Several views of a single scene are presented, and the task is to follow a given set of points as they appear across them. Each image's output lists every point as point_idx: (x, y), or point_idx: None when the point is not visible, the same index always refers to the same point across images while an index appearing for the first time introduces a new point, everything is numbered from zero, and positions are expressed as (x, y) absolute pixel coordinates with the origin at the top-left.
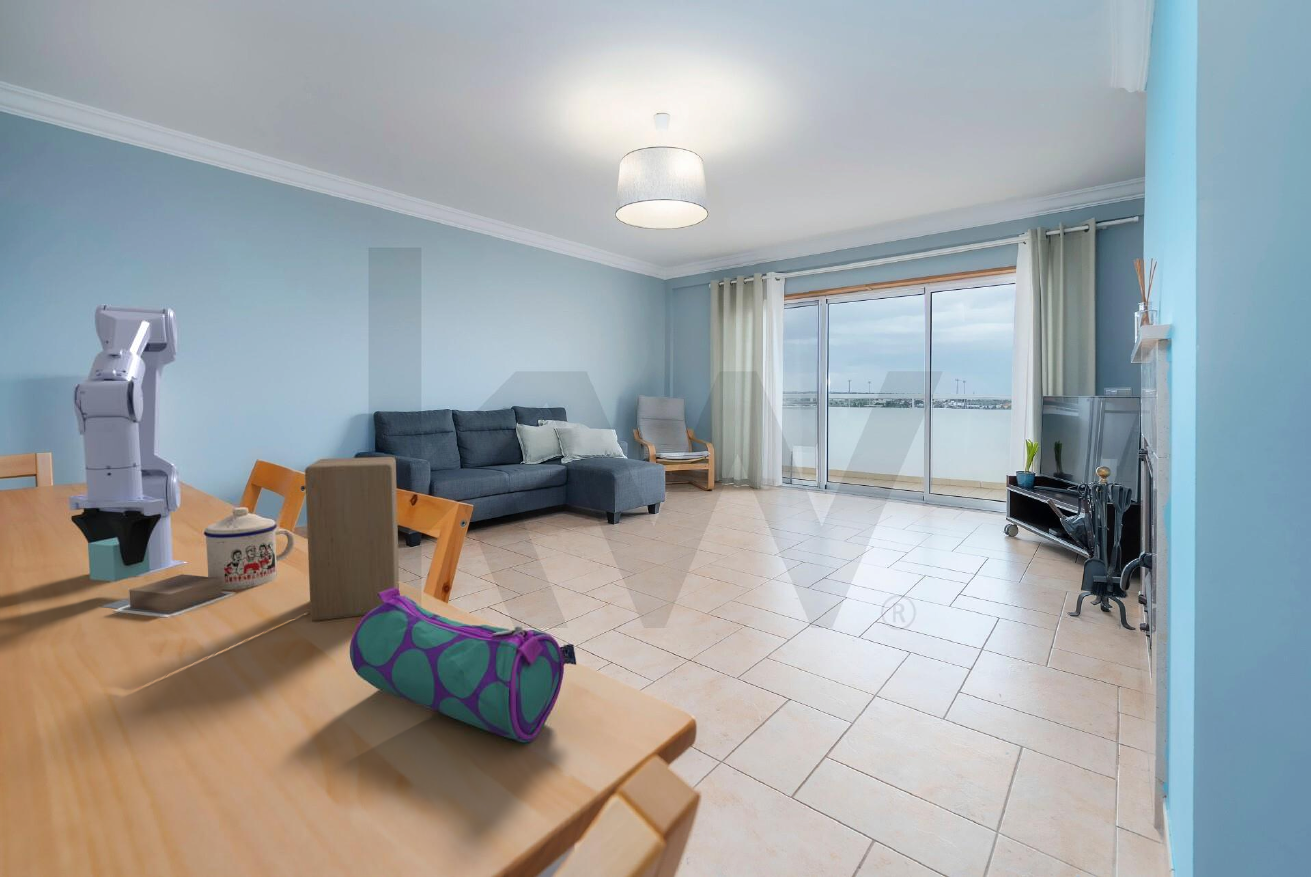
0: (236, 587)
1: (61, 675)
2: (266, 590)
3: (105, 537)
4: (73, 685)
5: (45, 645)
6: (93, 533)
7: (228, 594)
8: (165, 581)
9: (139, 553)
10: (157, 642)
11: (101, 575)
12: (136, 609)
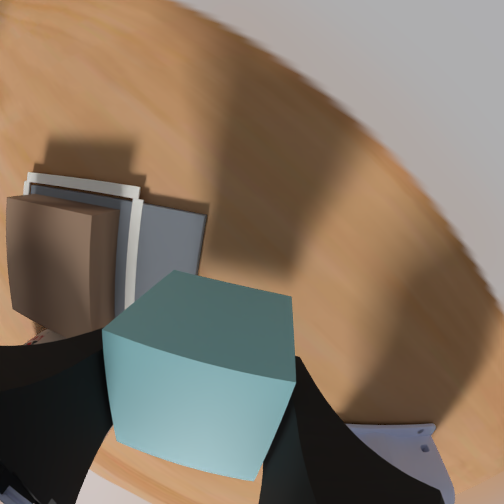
0: (42, 331)
1: (50, 3)
2: (22, 329)
3: (275, 452)
4: (31, 3)
5: (135, 28)
6: (294, 449)
7: None
8: (73, 291)
9: None
10: (7, 99)
11: (232, 291)
12: (101, 202)
